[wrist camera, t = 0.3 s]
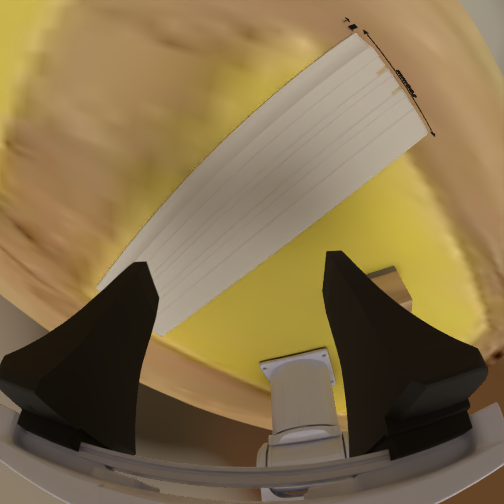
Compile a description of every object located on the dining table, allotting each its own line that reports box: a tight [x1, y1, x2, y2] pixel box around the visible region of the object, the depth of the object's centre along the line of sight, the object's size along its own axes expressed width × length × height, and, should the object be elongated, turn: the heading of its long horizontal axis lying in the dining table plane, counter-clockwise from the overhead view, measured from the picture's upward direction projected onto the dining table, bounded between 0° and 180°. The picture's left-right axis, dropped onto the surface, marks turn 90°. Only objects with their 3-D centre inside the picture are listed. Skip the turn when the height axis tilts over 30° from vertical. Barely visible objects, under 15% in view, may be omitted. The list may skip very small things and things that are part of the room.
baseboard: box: [96, 17, 435, 336], centre depth 20 cm, size 30×3×10 cm
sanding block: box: [366, 266, 412, 313], centre depth 23 cm, size 4×6×4 cm, turn 110°
